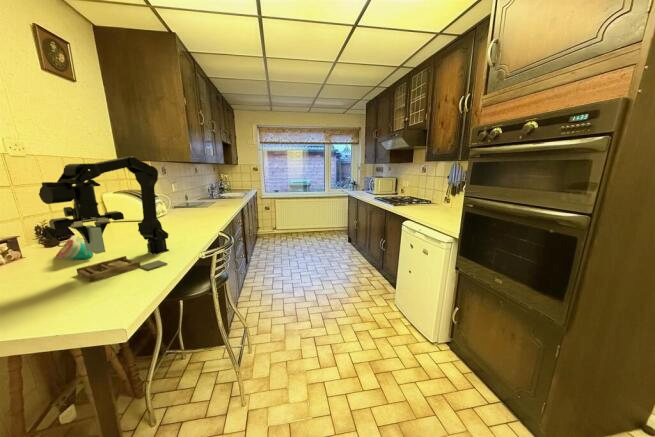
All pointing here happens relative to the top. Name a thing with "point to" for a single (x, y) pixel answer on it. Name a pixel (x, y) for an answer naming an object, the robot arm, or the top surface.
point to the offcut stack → (117, 264)
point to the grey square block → (95, 240)
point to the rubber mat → (153, 265)
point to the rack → (106, 269)
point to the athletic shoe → (74, 250)
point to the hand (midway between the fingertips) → (93, 242)
